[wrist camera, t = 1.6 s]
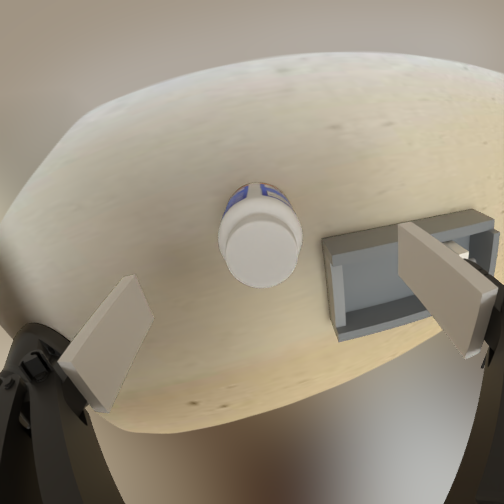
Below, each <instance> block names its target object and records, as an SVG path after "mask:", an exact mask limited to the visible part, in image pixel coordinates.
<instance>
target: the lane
mask: <svg viewBox="0 0 504 504" xmlns="http://www.w3.org/2000/svg"><path fill="white" fill-rule="evenodd" d="M409 222H412V223H414V224H415V225H417V226H418V227H420V228H421V229H423V230H424V231H426V232H427V233H429V234H430V235H431V236H433V237H434V238H436V239H437V240H438V241H440V242H445V241H449V240H452V241H454V242H455V243H457V244H458V245H460V246H461V247H463V248H464V249H466V250H467V251H469V256H468V259H470V258H475V260H476V263H477V264H478V265H479V266H480V267H482V268H483V270H486V271H487V272H488V273H489V274H491V275H492V276H493V277H494V272H495V266H496V259H497V252H498V245H499V236H500V232H499V231H497V230H495V229H494V219H493V218H491V217H489V216H487V215H485V214H483V213H481V212H478V211H476V210H474V209H470V210H465V211H459V212H454V213H449V214H444V215H439V216H434V217H429V218H424V219H419V220H414V221H409ZM404 223H406V222H404ZM399 224H400V223H399ZM322 246H323V254H324V262H325V270H326V279H327V289H328V299H329V310H330V320H331V322H332V325H333V328H334V331H335V333H336V336H337V339H338V342H342V341H346V340H350V339H354V338H358V337H362V336H366V335H370V334H374V333H377V332H381V331H385V330H388V329H392V328H395V327H398V326H402V325H405V324H408V323H412V322H415V321H418V320H421V319H424V318H427V317H430V316H432V315H431V314H430V313H429V311H428V310H427V309H426V307H425V306H424V305H423V304H422V303H421V301H420V300H419V299H418V298H417V296H416V295H415V294H414V293H413V292H412V290H411V289H410V288H409V287H408V286H407V284H406V283H405V282H404V281H403V280H402V279H401V277H400V276H399V275H398V224H394V225H389V226H384V227H379V228H374V229H369V230H364V231H359V232H354V233H349V234H344V235H339V236H334V237H329V238H323V239H322Z"/></svg>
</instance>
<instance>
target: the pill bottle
mask: <svg viewBox="0 0 504 504" xmlns="http://www.w3.org/2000/svg"><path fill="white" fill-rule="evenodd" d="M302 240H303V233H302V227H301V224H300V222H299V219H298V217H297V215H296V213H295V212H294V210H293V208H292V206H291V204H290V203H289V201H288V199H287V198H286V196H285V195H284V194H283V193H282V192H281V191H280V190H279V189H277V188H276V187H274V186H272V185H269V184H266V183H251V184H247V185H245V186H243V187H241V188H240V189H238V190H237V191H236V192H235V193H234V194H233V195H232V197H231V198H230V200H229V202H228V205H227V207H226V210H225V212H224V215H223V217H222V220H221V223H220V226H219V231H218V245H219V249H220V252H221V254H222V256H223V258H224V260H225V261H226V264H227V266H228V269H229V271H230V272H231V274H232V275H233V276H234V277H235V278H236V279H237V280H238V281H240V282H241V283H243V284H245V285H247V286H250V287H253V288H269V287H273V286H276V285H278V284H280V283H282V282H283V281H285V280H286V279H287V278H288V277H289V276H290V275H291V274H292V272H293V271H294V269H295V266H296V264H297V260H298V255H299V253H300V250H301V246H302Z"/></svg>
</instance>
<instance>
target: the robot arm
mask: <svg viewBox="0 0 504 504" xmlns="http://www.w3.org/2000/svg"><path fill="white" fill-rule="evenodd" d="M398 275H399V276H400V277H401V279H402V280H403V281H404V282H405V283H406V284H407V286H408V287H409V288H410V289H411V290H412V292H413V293H414V294H415V295H416V296H417V298H418V299H419V300H420V301H421V303H422V304H423V305H424V306H425V307H426V309H427V310H428V311H429V313H430V314H431V315H432V316H433V318H434V319H435V320H436V322H437V323H438V324H439V325H440V327H441V328H442V329H443V331H444V332H445V333H446V335H447V336H448V337H449V339H450V340H451V341H452V343H453V344H454V346H455V347H456V348H457V350H458V351H459V353H460V354H461V355H462V357H463V358H464V359H467V358H469V357H471V356H473V355H476V354H478V353H479V352H480V350H481V347H482V344H483V341H484V340H485V341H486V343H487V344H488V345H489V348H488V351H487V354H486V356H485V358H484V361H483V364H482V366H481V368H484V365H485V368H484V376H483V381H482V387H481V392H480V397H479V402H478V406H477V411H476V415H475V419H474V423H473V426H472V430H471V433H470V437H469V440H468V443H467V446H466V449H465V452H464V456H463V458H462V461H461V464H460V466H459V469H458V472H457V474H456V477H455V479H454V482H453V484H452V487H451V489H450V491H449V493H448V495H447V498H446V500H445V502H444V504H504V285H503V284H501V283H500V282H499V281H498V280H497V279H495V278H494V277H493V276H492V275H491V274H489V273H488V272H487V271H486V270H483V268H482V267H480V266H479V265H478V264H477V263H475V262H473V261H471V260H468V259H466V258H464V259H463V258H461V257H460V256H459V255H457V254H456V253H455V252H453V251H452V250H451V249H449V248H448V247H447V246H445V245H444V244H443V243H441V242H440V241H438V240H437V239H436V238H434V237H433V236H431V235H430V234H429V233H427V232H426V231H424V230H423V229H421V228H420V227H418V226H417V225H415V224H414V223H412V222H406V223H400V224H398ZM154 319H155V318H154V316H153V314H152V311H151V309H150V307H149V305H148V302H147V300H146V298H145V295H144V293H143V291H142V288H141V286H140V283H139V281H138V278H137V276H136V274H135V275H129V276H124V277H123V278H122V279H121V280H120V282H119V283H118V284H117V285H116V286H115V288H114V289H113V290H112V291H111V292H110V294H109V295H108V296H107V297H106V298H105V300H104V301H103V302H102V303H101V305H100V306H99V307H98V308H97V310H96V311H95V312H94V313H93V315H92V316H91V317H90V318H89V320H88V321H87V322H86V324H85V325H84V326H83V328H82V329H81V330H80V331H79V333H78V334H77V335H76V336H75V337H74V339H73V340H72V341H71V343H70V342H69V341H68V340H67V339H65V338H64V337H63V336H61V335H60V334H59V333H57V332H55V331H54V330H52V329H50V328H48V327H46V326H44V325H41V324H36V323H29V324H26V325H25V326H23V328H22V329H21V330H20V331H19V332H18V333H17V334H16V336H15V338H14V340H13V343H12V345H11V348H10V351H9V354H8V357H7V360H6V363H5V366H4V368H3V370H2V372H1V373H0V504H125V503H124V501H123V499H122V497H121V495H120V493H119V491H118V489H117V486H116V484H115V482H114V480H113V478H112V476H111V473H110V471H109V469H108V466H107V464H106V461H105V459H104V456H103V454H102V451H101V448H100V446H99V443H98V440H97V438H96V435H95V432H94V429H93V426H92V422H91V419H90V416H89V413H88V412H87V411H86V409H85V407H86V406H88V405H90V406H91V407H92V408H93V410H94V411H95V412H103V413H110V410H111V408H112V406H113V404H114V401H115V399H116V397H117V395H118V393H119V391H120V388H121V386H122V384H123V382H124V380H125V378H126V375H127V373H128V371H129V369H130V367H131V365H132V363H133V361H134V359H135V357H136V355H137V353H138V351H139V349H140V346H141V344H142V342H143V340H144V338H145V336H146V334H147V332H148V330H149V329H150V327H151V325H152V323H153V321H154Z"/></svg>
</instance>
